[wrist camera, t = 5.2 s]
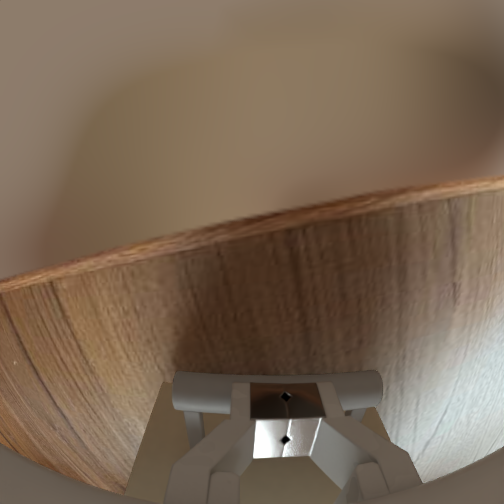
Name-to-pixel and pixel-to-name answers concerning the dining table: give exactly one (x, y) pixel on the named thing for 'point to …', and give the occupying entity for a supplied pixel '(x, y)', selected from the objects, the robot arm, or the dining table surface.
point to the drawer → (218, 408)
